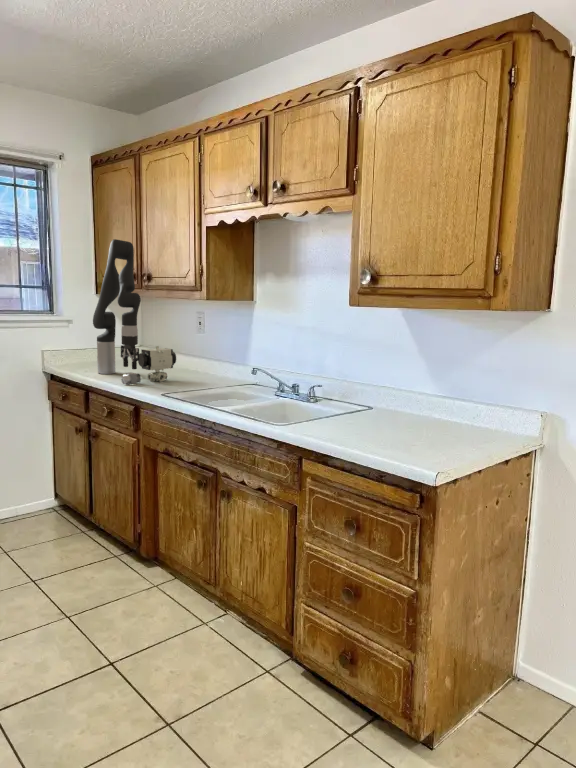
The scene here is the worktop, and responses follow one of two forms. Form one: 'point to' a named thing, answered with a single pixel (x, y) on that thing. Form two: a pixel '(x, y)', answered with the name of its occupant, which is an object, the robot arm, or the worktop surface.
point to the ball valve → (157, 362)
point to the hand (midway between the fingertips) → (130, 368)
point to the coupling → (130, 378)
